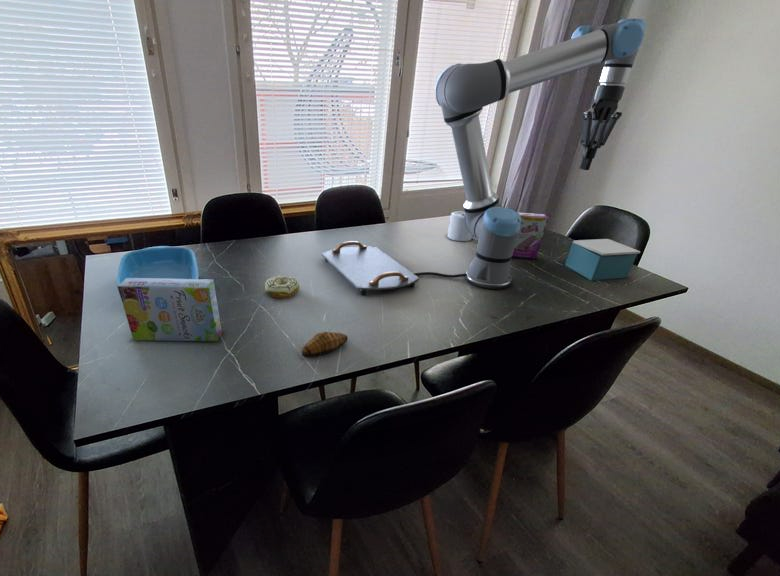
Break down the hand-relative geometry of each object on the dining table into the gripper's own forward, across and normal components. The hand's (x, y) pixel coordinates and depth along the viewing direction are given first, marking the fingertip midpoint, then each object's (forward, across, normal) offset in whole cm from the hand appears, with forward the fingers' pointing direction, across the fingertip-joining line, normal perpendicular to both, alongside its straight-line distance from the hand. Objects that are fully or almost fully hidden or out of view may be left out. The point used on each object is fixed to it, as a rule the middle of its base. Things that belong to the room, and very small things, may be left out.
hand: (584, 169), depth 139 cm
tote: (+34, -14, +6) cm, 38 cm away
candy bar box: (+35, +6, -12) cm, 37 cm away
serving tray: (+35, +72, -5) cm, 80 cm away
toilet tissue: (+35, +20, -37) cm, 54 cm away
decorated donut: (+35, +103, +6) cm, 109 cm away
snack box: (+35, +132, +28) cm, 139 cm away
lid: (+25, -14, +7) cm, 30 cm away
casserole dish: (+35, +139, -3) cm, 143 cm away
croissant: (+35, +96, +41) cm, 110 cm away
